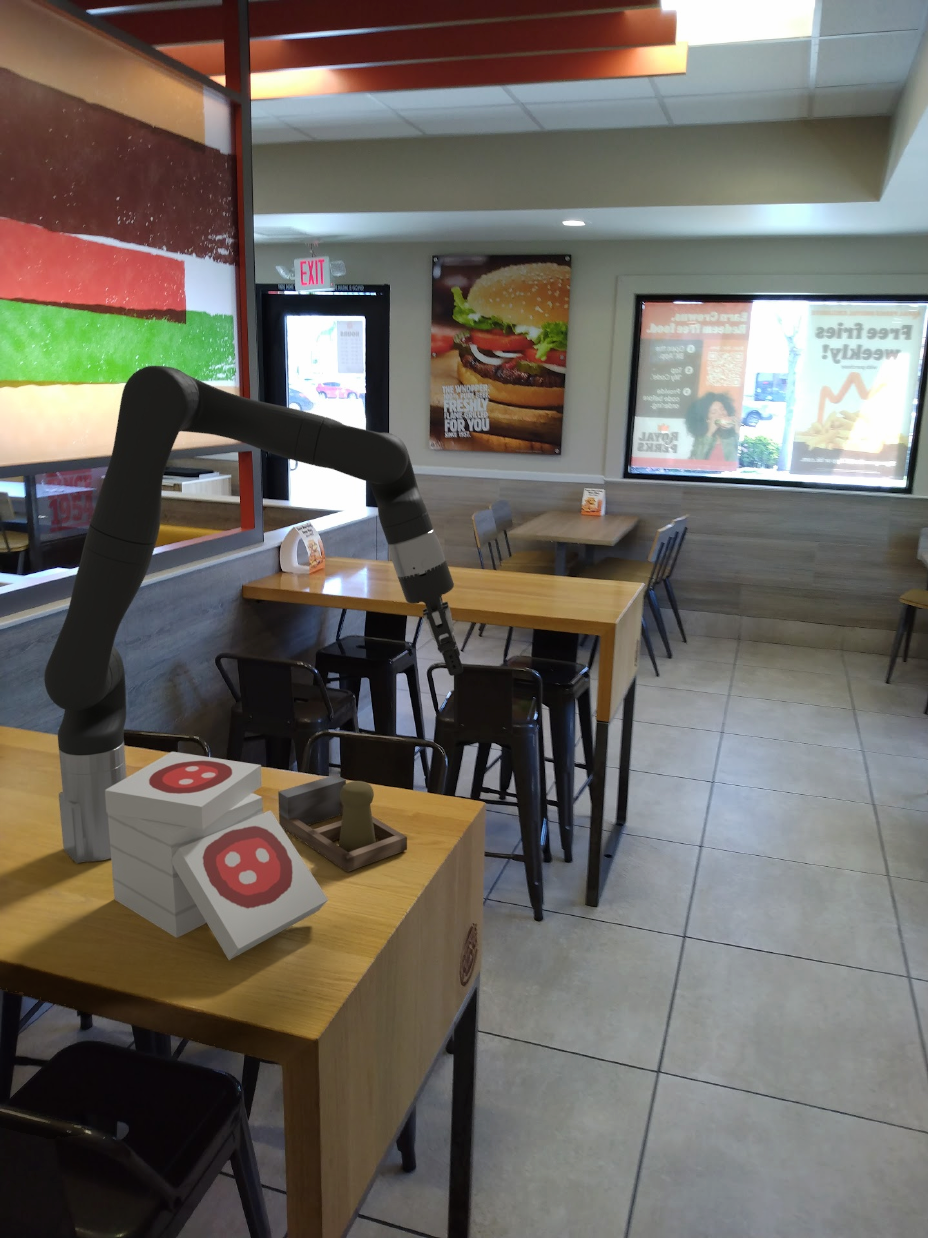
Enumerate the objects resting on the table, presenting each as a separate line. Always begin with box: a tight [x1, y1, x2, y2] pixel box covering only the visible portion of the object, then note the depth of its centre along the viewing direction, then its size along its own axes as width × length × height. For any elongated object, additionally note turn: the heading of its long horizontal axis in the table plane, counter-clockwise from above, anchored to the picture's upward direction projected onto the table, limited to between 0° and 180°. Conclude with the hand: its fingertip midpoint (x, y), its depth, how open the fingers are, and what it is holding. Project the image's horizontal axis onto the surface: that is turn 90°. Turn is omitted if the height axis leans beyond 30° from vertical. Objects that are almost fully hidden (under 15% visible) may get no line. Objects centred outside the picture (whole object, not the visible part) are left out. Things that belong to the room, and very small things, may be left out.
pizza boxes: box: [105, 751, 329, 961], centre depth 126 cm, size 19×30×18 cm, turn 51°
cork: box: [338, 780, 376, 852], centre depth 144 cm, size 6×6×11 cm
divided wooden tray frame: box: [277, 774, 408, 873], centre depth 148 cm, size 11×20×6 cm, turn 41°
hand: (455, 665), depth 139 cm, fingers open, 8 cm apart
